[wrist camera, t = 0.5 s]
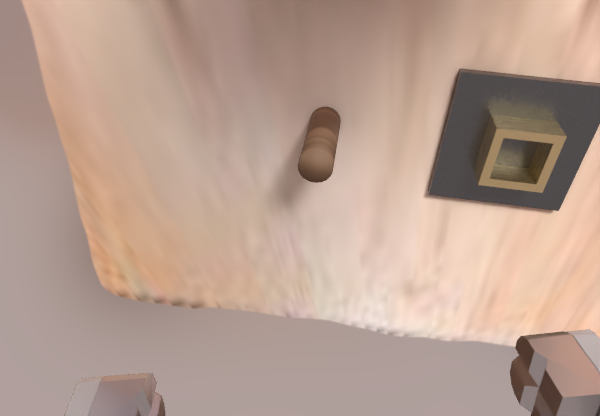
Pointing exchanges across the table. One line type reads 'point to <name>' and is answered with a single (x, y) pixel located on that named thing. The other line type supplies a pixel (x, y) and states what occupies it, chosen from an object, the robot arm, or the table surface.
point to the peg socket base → (515, 138)
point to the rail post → (320, 145)
